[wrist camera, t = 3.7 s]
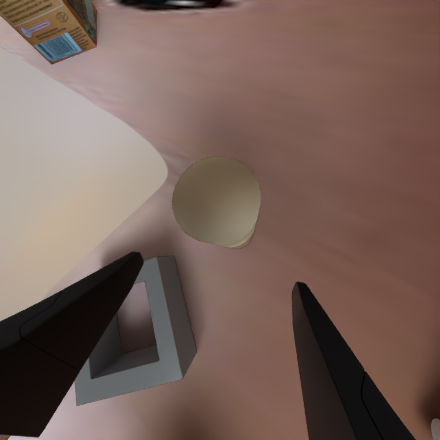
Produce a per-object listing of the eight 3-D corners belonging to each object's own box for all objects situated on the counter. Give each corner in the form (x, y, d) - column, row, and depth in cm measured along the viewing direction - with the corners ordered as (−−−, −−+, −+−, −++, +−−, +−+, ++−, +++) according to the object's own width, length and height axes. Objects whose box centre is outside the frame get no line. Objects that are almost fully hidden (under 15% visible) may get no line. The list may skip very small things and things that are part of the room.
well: (196, 351, 18) (182, 379, 14) (111, 375, 19) (76, 406, 15) (173, 255, 21) (156, 256, 17) (99, 281, 22) (67, 287, 18)
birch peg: (258, 241, 19) (276, 224, 7) (224, 253, 20) (184, 255, 8) (246, 208, 20) (242, 143, 8) (213, 220, 21) (163, 175, 9)
